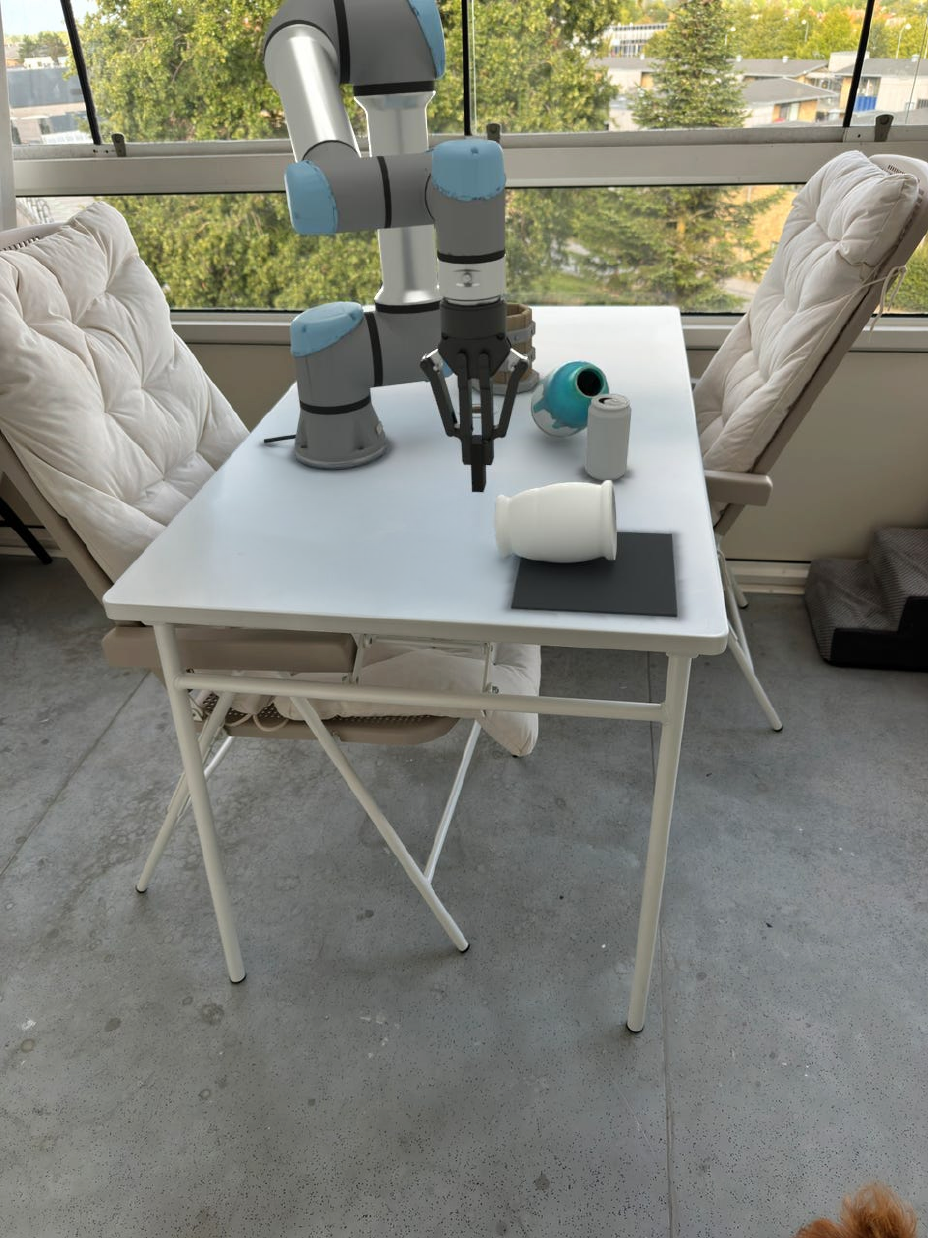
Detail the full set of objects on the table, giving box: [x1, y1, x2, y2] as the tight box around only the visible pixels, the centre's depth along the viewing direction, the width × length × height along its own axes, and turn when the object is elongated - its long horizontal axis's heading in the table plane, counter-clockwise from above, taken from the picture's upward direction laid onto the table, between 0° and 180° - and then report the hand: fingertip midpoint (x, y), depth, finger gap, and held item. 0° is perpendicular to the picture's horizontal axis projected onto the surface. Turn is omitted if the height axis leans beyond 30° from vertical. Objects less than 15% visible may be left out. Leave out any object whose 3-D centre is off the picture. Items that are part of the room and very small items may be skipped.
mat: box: [510, 531, 678, 617], centre depth 121 cm, size 20×20×1 cm
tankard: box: [472, 301, 540, 396], centre depth 177 cm, size 20×13×15 cm, turn 69°
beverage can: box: [584, 393, 633, 481], centre depth 141 cm, size 6×6×12 cm
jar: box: [493, 480, 618, 563], centre depth 121 cm, size 11×10×15 cm
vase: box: [530, 359, 610, 438], centre depth 149 cm, size 11×11×19 cm
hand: (479, 487), depth 117 cm, fingers closed
